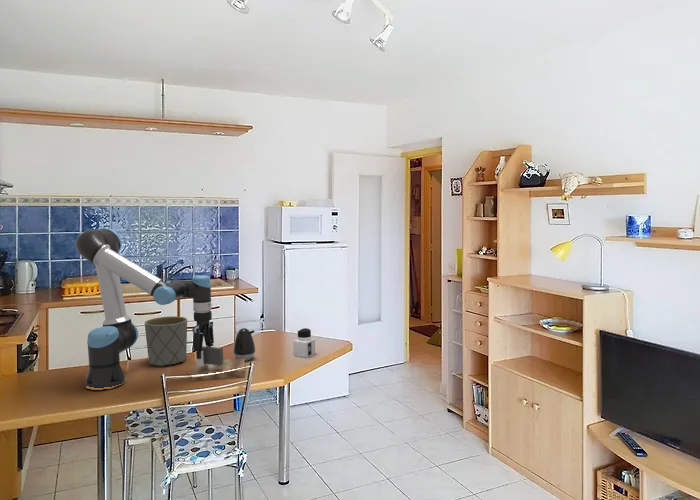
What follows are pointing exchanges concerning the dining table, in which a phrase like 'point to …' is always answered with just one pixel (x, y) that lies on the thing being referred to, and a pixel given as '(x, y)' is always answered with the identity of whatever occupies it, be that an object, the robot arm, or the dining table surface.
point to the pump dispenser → (244, 344)
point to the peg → (212, 357)
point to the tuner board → (221, 370)
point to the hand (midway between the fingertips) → (204, 363)
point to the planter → (166, 340)
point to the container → (304, 343)
